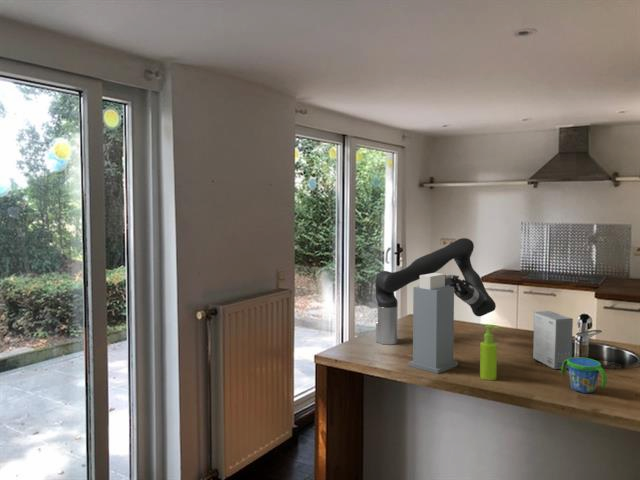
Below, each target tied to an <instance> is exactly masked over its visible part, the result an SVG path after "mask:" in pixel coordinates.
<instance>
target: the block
mask: <svg viewBox="0 0 640 480" xmlns="http://www.w3.org/2000/svg"><path fill="white" fill-rule="evenodd" d="M445 275H446V274H445V273H439V272H435V273H430V274H425V275H420V279H419V286H420V288H422V289H429V290H431V289H435V288H440V287H445V286H447V285H452V284H456V283H454V282H453V281H452V280H451V277H452V275H453V274H447V275H446V276H445ZM454 276H455V277H457V278H458V279H460V275H456V274H454Z"/></svg>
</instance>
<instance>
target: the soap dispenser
mask: <svg viewBox="0 0 640 480" xmlns="http://www.w3.org/2000/svg"><path fill="white" fill-rule="evenodd" d="M484 328H486V332H485V333H484V334H483V341H481V342H480V344H479V346H480V348H479V349H480V350H479V351H480V355H479V359H480V360H479V367H480V368H479V378H480V379H482V380H484V381H485V380H486V381H494V380H495V381H496V380H497V366H498V365H497V363H498V362H497V361H498V360H497V358H498V343H497V342H494V335H495V334H494V333H492V329H496V330H499V329H501V326H499V325H496V324H495V325H494V324H485V325H484Z"/></svg>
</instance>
